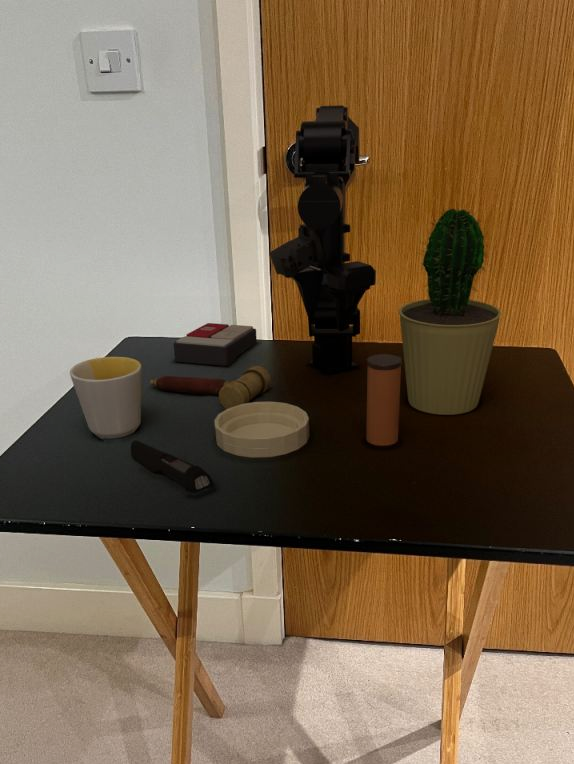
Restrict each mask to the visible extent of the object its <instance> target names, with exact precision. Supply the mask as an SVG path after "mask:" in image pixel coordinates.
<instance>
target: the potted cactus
mask: <svg viewBox="0 0 574 764" xmlns="http://www.w3.org/2000/svg"><path fill="white" fill-rule="evenodd" d="M442 210H443V213H442V211H440V212H439V213H440V217H437V218H438V219H436V220H435V219H433V222H432V221H429V224H431V225H432V226H434V227H433V230H432V231H431V232H430V231H429V230H427V232H428V233H430V234H429V237H428V238H427V241H424V242H423V241H421V242H420V241H419V243H421V244H422V245H425V246H426V248H425V250H426V251H425V250H422V249H420V250H421V252H423V253H424V255H423V254H422V253H420V252H419V253H418V254H420V256H423V259H422V262H421V266H419V267H422V268H421V269H420V271H423V269H424V270H425V271H424V272H422V274H423V273H425V275H426V280H427V283H426V285H423V286H422V288H423V287H424V288H426V287H427V288H428V289H426V291H427V294H426V297H429V298H427V299H426V298H425V299H421V300H415V301H414V300H413V301H411V302H407V303H405V304H403V305H402V306H400V308H399V309H398V314H399V323H400V331H401V343H402V350H403V361H404V370H405V371H404V372H405V381H406V382H405V383H406V389H407V391H406V392H407V400H408V403H409V405H410V406H411V407H412V408H414V409H416V410H417V411H420V412H424V413H428V414H433V415H441V416H442V415H443V416H450V415H453V416H454V415H460V414H464V413H468V412H471V411H473V410H475V409H476V408H477V406H479V403H480V400H481V399H480V398H481V394H482V390H483V387H484V383H485V378H486V374H487V370H488V367H489V362H490V358H491V354H492V350H493V347H494V343H495V339H496V336H497V331H498V327H499V323H500V317H501V315H502V312H501V310H500V309H499V308H498V307H496V306H494V305H492V304H489V303H486V302H482V301H479V300H474V299H470V296H471V293H472V291H475V292H478V290H477V289H476V287H475V286H473V285H474V282H476V281H477V279H476V278H477V277H478V278H479V277H480V276H478V273H479V274H480V275H482V274H481V273H482V272H485V267H484V266H483V264H487V265H488V266H489V265H490V264H489V263H487V262H486V261H485V260H484V259H485V258H486V259H488V258H489V256H487V255H486V254H487V253H488V250H486V249H485V247H488V244H487V242H486V243H485V242H484V241H485V237H486V235H487V234H488V232H486V233H483V231H482V230H483V228H481V227H482V224H479V223H481V221H480V219H476V218H475V214H476V212H473V215H472V213H471V211H472V208H470V209H469V210H468V211H467V209H465V208H463V209H462V208H461V209H460V208H457V209H456V208H455V207H454V208H453V207H452V208H448V209H446V210H445V208H444V207H442ZM480 225H481V226H480ZM486 230H487V228H484V231H486ZM479 271H480V272H479ZM476 276H477V277H476ZM479 279H480V278H479ZM422 280H424V278H423V279H422Z"/></svg>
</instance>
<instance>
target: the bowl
mask: <svg viewBox="0 0 574 764" xmlns="http://www.w3.org/2000/svg"><path fill="white" fill-rule="evenodd" d="M213 422H214V423H213V424H214V434H215V442H216V445H217V447H218V448H220V449H221V450H222V451H223V452H226V453H228V454H230V455H231V454H232V455H234V456H238V457H243V458H253V459H254V458H257V459H258V458H274V457H278V456H285V455H287V454H290V453H293V452H295V451H298V450H299V449H301V448H302V447H303V446H305V445H307V443H308V441H309V439H310V418H309V415H308V413H307V411H306V410H303V409H302V408H301V407H299V406H297V405H293V404H290V403H287V402H278V401H253V402H248V403H246V404H241V405H238V406H234V407H231V408H228V409H225V410H223V411H221V412H219V413H218V414H217V416H216V417H215V419H214V420H213Z"/></svg>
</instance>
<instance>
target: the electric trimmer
mask: <svg viewBox="0 0 574 764" xmlns="http://www.w3.org/2000/svg"><path fill="white" fill-rule="evenodd" d="M130 455H131V457H132V458H133V459H134V460H135V461H136V462H138V463H139V464H140V465H141V466H143V467H144V468H145V469H147V470H149V471H150V472H151V473H153V474H163V475H164V476H166V477H168V478H169V479H172V480H174V481H176V483H177V482H178V483H179V484H181V485H183V486H184V487H185V488H186V490H187V492H188V493H193V494H198V493H199V492H201V491H204V490H206V489H209V488H210V487H213V486H214V481H213V479H212V477H211V476H210V474H208V472H206V471H205V470H204V469H203V468H202V467H201V466H199V465H195V464H192V463H191V462H188V461H186V460H183V459H182V458H179V457H176V456H174V455H172V454H169V453H167V452H165V451H162V450H159V449H157V448H155V447H153V446H150V445H148V444H146V443H144V442H142V441H139V440H133V441H132V442H131V443H130Z"/></svg>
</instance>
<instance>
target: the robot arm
mask: <svg viewBox="0 0 574 764" xmlns="http://www.w3.org/2000/svg"><path fill="white" fill-rule="evenodd" d="M360 142H361V141H360V128H359V126H358V125H357V124H356V123H355V122H354V121H353V120H352V119H351V118H350V116H349V107H348V106H344V105H343V104H342V105H320V106H319V107H316V108H315V119H314V120H309V121H308V120H307V121H305V120H304V121H302V122H301V123H300V130H296V131H295V145H294V146H295V147H294V167H293V168H294V170H293V171H294V172H293V177H294V178H295V179H303V178H305V179H304V181H305V182H304V189H303V191H302V192H301V194H300V196H299V198H298V201H297V212H298V215H299V218H300V221H302V222H303V223H302V224H299V227H298V228H297V232H298V233H297V236H296V237H294V238H293V239H290V240H288V241H286V242H285V243H283V244H281V245H280V246H278V247H276V248H274V249H273V250H271V251H270V252H269V253H268V254H269V257H270V260H271V263H272V266H273V268H274V271H275V273H276V275H278V276H279V275H282V276H284V278H286V279H292V280H293V281H294V282H295V284H296V287H297V289H298V292H299V294H300V298H301V300H302V304H303V307H304V309H305V313H306V317H307V322H308V325H307V326H308V337H309V338H313V342H312V343H311V347H312V348H311V349H312V350H311V351H312V352H311V353H312V360H311V361H310V362H309V363H310V366H312V367H314V368H315V369H318V370H320V371H321V372H323V373H325V374H334V373H338V372H343V371H347V370H352V369H355V368H357V367H358V364H357V363H356V362H354V361H353V338H356V337H357V336H358V335H360V334H361V310H360V308H358V305H359V303H360V301H361V300H362V299H363V297H364V295H365V293H366V291H369V290H371V287H372V286H375V285H376V282H377V270H376V269H375V268H374V267H373V266H372V265H371V264H368V263H366V262H362V261H359V260H356V261H351V254H350V253H348V252H346V233H351V224H349V223H346V221H347V220H346V219H347V218H346V212H347V211H346V210H347V209H346V208H347V191H348V189H349V188H350V186H351V184H352V182H353V181H354V180H355V178H356V164H360V155H361V154H360V152H361V151H360V150H361V148H360V147H361V145H360V144H361V143H360Z"/></svg>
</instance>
